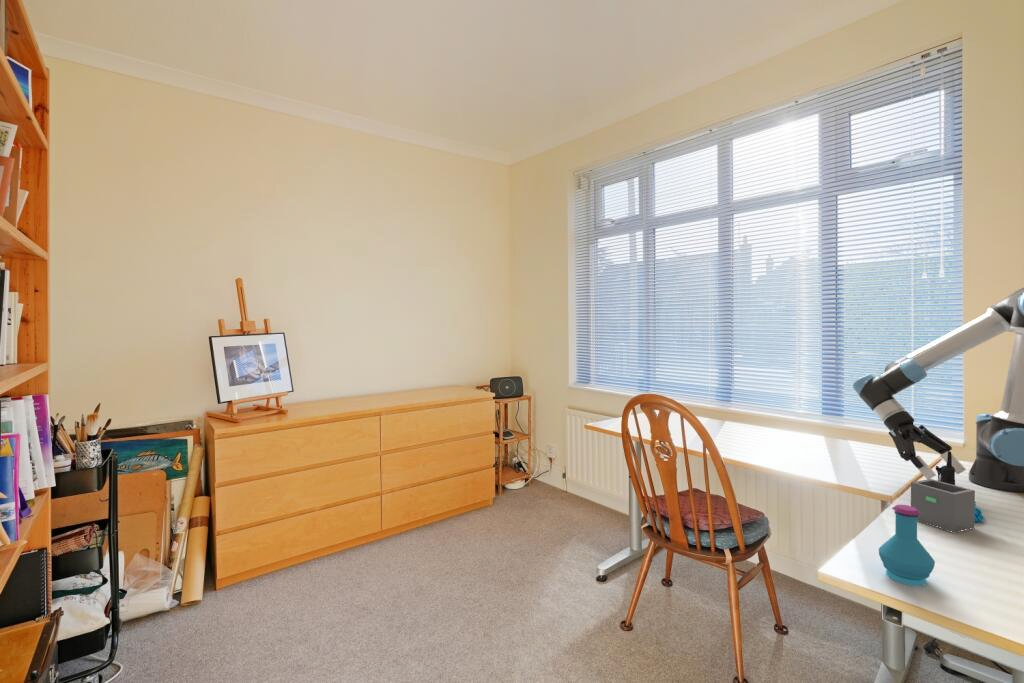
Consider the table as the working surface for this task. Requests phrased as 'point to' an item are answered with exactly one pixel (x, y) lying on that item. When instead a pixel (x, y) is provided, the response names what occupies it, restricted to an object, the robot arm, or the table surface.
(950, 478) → the two-way radio
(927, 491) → the charging dock
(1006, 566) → the table surface
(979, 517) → the gear
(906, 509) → the perfume bottle
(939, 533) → the table surface
